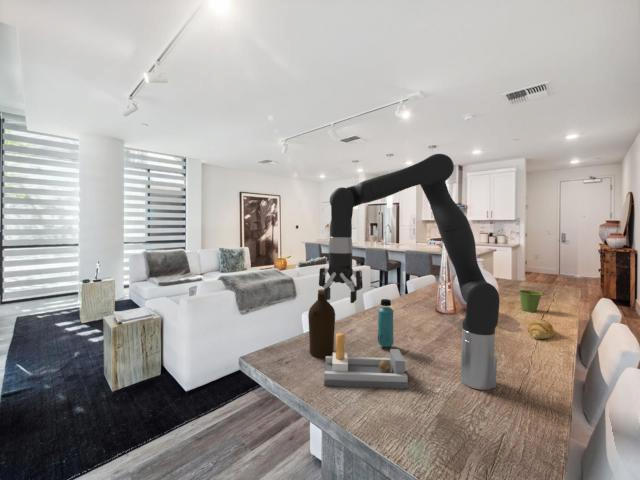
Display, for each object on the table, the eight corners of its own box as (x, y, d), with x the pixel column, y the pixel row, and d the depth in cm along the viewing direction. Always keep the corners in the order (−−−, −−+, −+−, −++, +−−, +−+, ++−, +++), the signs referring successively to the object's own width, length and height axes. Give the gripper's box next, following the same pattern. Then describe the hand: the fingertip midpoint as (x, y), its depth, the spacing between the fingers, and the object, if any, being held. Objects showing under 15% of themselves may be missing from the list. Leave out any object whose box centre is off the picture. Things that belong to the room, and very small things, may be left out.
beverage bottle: (396, 347, 123) (397, 299, 122) (388, 352, 118) (388, 302, 117) (382, 342, 128) (383, 296, 127) (374, 347, 123) (374, 299, 122)
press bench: (398, 366, 106) (398, 346, 106) (407, 388, 92) (408, 364, 92) (325, 364, 107) (325, 344, 107) (324, 385, 93) (324, 362, 93)
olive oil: (335, 358, 112) (336, 293, 111) (307, 358, 112) (307, 293, 111) (334, 347, 123) (334, 287, 121) (308, 346, 123) (309, 287, 122)
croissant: (543, 349, 130) (554, 336, 127) (519, 334, 136) (530, 320, 133) (550, 336, 145) (560, 323, 142) (528, 322, 151) (538, 310, 148)
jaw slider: (346, 363, 104) (347, 330, 104) (347, 376, 96) (348, 339, 95) (332, 363, 105) (332, 329, 104) (332, 375, 96) (332, 339, 95)
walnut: (389, 369, 101) (389, 357, 101) (391, 375, 97) (392, 363, 97) (377, 368, 101) (378, 357, 101) (379, 374, 97) (379, 362, 97)
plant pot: (523, 313, 173) (524, 293, 172) (513, 307, 184) (514, 289, 184) (546, 314, 171) (547, 294, 170) (534, 308, 182) (535, 290, 182)
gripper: (365, 251, 95) (364, 301, 96) (325, 249, 102) (324, 296, 102) (358, 253, 89) (357, 306, 89) (315, 251, 95) (315, 301, 96)
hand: (340, 301), depth 96 cm, fingers open, 8 cm apart
